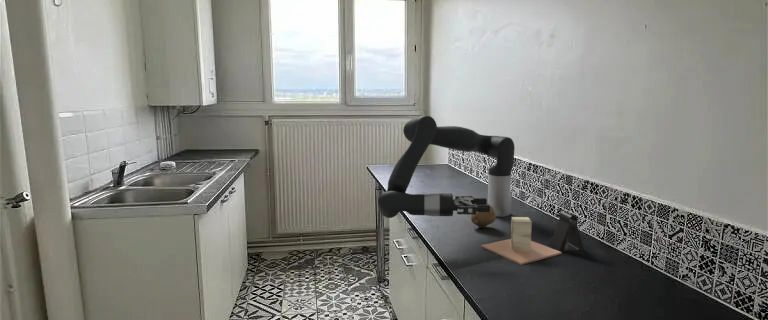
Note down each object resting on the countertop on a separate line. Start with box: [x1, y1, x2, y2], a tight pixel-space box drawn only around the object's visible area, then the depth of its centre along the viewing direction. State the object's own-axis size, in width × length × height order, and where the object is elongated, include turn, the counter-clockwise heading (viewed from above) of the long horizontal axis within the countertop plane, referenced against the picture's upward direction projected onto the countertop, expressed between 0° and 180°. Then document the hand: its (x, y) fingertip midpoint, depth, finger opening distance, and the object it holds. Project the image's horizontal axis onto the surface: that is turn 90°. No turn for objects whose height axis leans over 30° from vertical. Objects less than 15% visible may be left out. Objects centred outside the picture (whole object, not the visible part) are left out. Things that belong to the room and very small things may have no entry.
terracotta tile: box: [480, 238, 563, 266], centre depth 148 cm, size 18×18×1 cm
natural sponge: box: [470, 202, 496, 228], centre depth 172 cm, size 9×9×10 cm
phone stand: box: [549, 210, 585, 253], centre depth 149 cm, size 9×6×12 cm, turn 99°
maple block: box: [510, 216, 533, 252], centre depth 148 cm, size 5×5×10 cm
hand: (488, 204), depth 147 cm, fingers open, 8 cm apart
